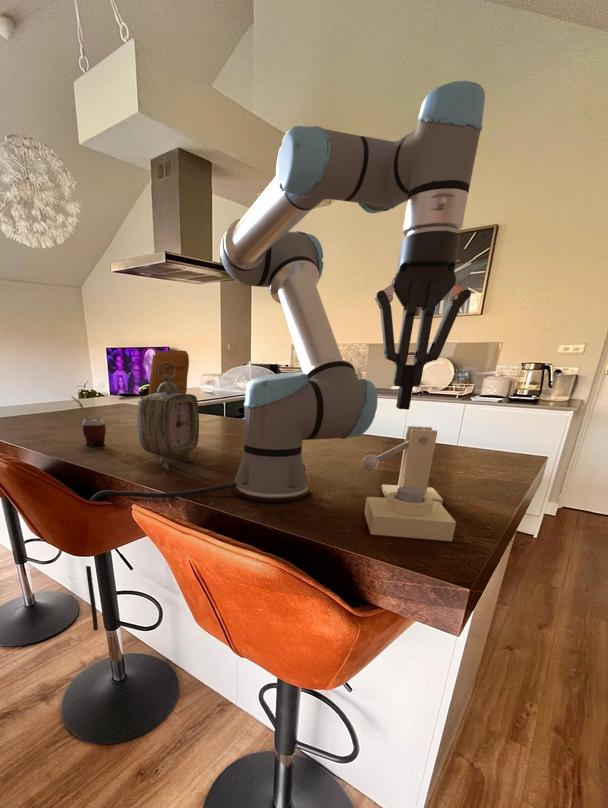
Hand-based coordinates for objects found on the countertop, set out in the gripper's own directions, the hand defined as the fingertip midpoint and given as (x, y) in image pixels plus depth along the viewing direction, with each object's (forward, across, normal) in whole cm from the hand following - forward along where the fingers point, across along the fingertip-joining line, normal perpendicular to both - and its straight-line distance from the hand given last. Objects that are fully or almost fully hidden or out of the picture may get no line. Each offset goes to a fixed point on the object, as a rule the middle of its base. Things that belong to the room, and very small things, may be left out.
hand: (402, 408), depth 67 cm
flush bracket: (+19, +7, +14) cm, 24 cm away
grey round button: (+14, +3, -3) cm, 15 cm away
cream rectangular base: (+19, +3, -3) cm, 19 cm away
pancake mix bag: (+20, -56, +49) cm, 77 cm away
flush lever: (+11, +3, +14) cm, 18 cm away
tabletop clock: (+20, -49, +28) cm, 60 cm away
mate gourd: (+21, -80, +46) cm, 95 cm away
